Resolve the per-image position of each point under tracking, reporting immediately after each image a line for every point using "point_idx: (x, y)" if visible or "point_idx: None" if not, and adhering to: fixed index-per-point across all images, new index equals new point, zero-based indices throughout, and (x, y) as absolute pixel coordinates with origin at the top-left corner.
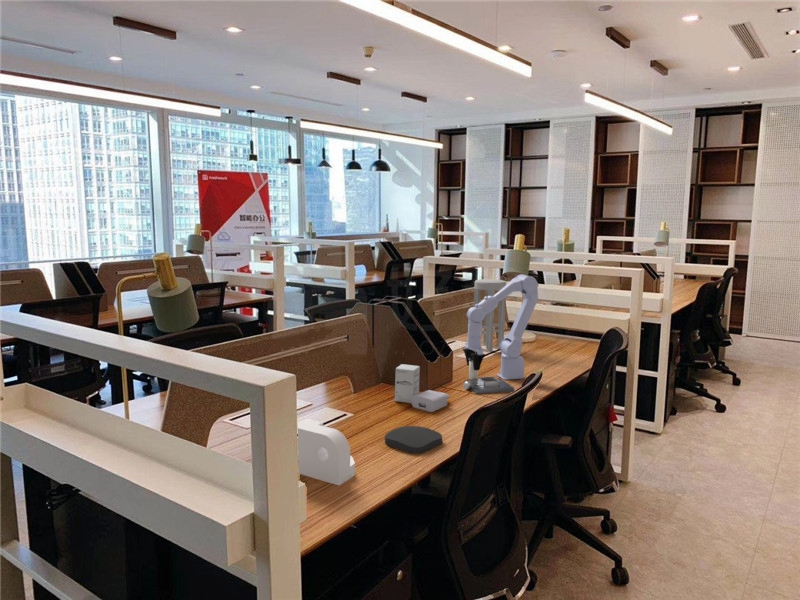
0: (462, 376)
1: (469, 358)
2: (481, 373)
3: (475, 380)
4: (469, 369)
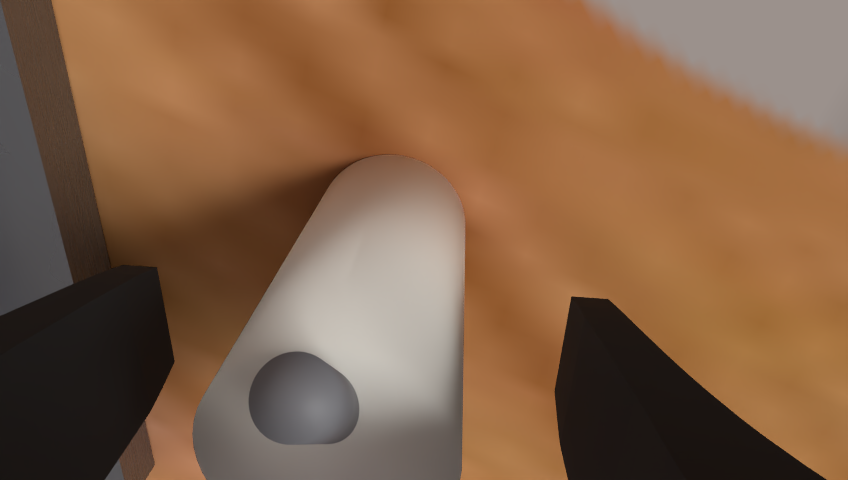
0: (571, 102)
1: (269, 412)
2: None
3: (14, 138)
4: (357, 227)
